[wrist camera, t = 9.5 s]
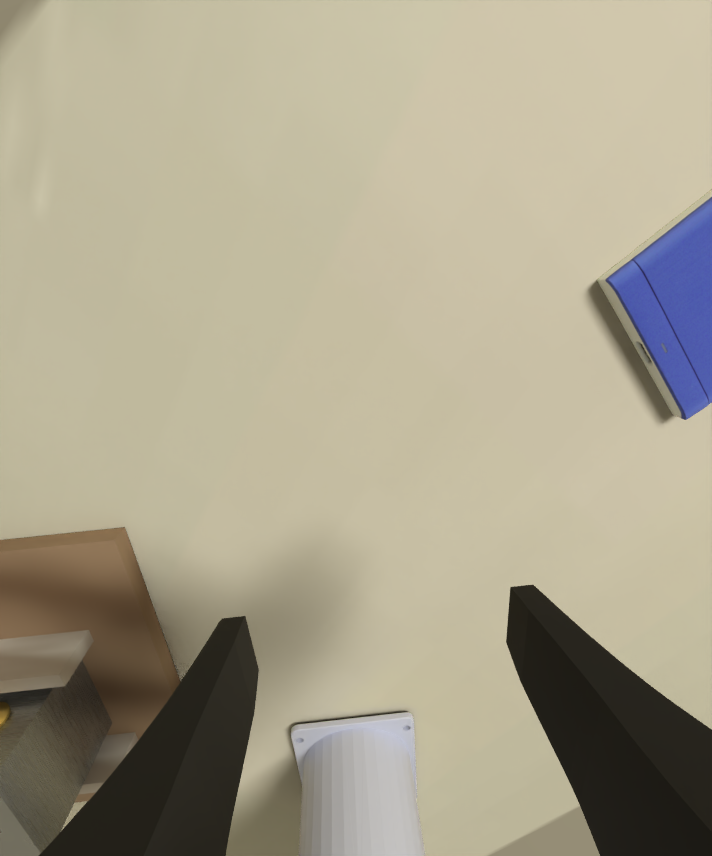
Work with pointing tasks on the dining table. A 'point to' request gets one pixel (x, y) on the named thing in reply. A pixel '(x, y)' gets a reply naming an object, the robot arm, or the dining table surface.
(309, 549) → the dining table surface
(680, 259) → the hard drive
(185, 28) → the dining table surface
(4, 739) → the block
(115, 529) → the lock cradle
